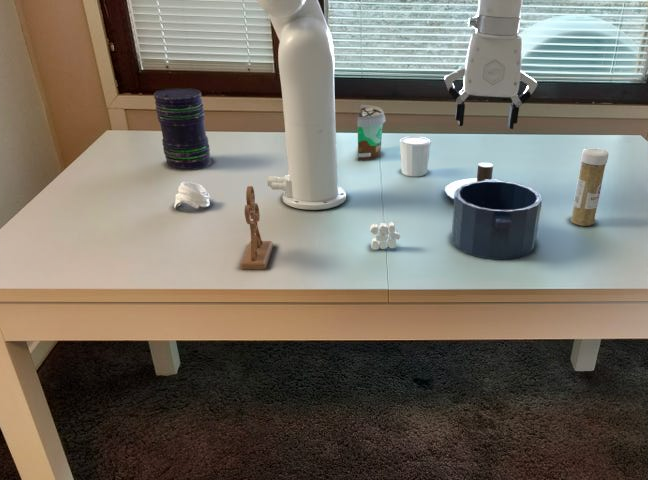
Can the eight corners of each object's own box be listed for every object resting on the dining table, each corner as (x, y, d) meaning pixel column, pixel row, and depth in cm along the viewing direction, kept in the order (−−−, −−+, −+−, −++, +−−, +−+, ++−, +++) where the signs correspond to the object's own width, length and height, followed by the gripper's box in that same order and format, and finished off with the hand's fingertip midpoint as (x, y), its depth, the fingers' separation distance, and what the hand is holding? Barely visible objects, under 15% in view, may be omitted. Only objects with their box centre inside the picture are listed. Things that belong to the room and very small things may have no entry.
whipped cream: (179, 202, 128) (172, 178, 126) (213, 198, 129) (207, 174, 126) (173, 215, 122) (166, 189, 119) (209, 210, 122) (203, 185, 120)
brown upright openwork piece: (250, 245, 111) (242, 177, 104) (273, 245, 111) (266, 177, 104) (240, 269, 103) (231, 197, 97) (265, 269, 103) (257, 197, 97)
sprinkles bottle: (593, 228, 120) (608, 156, 113) (568, 224, 121) (581, 153, 114) (595, 219, 124) (609, 148, 116) (570, 216, 125) (583, 145, 117)
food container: (384, 163, 149) (384, 118, 143) (357, 162, 149) (357, 117, 143) (386, 147, 159) (386, 104, 153) (361, 146, 159) (360, 104, 153)
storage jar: (192, 153, 151) (181, 85, 143) (220, 162, 147) (211, 92, 138) (156, 164, 145) (143, 93, 136) (185, 173, 140) (173, 101, 132)
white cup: (426, 178, 141) (428, 146, 137) (396, 175, 142) (396, 143, 138) (431, 168, 146) (433, 137, 142) (402, 166, 147) (402, 134, 143)
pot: (454, 265, 106) (458, 216, 101) (449, 218, 123) (452, 174, 118) (543, 268, 106) (551, 219, 101) (525, 220, 123) (532, 176, 118)
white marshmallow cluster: (370, 249, 110) (370, 225, 108) (370, 246, 112) (370, 222, 109) (399, 249, 111) (400, 225, 108) (399, 246, 112) (399, 221, 109)
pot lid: (446, 209, 126) (448, 176, 122) (443, 182, 139) (445, 151, 135) (525, 212, 126) (530, 179, 122) (515, 184, 139) (519, 153, 135)
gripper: (449, 26, 111) (441, 128, 121) (549, 32, 111) (533, 133, 121) (448, 21, 117) (439, 118, 127) (542, 26, 118) (527, 123, 127)
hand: (485, 125), depth 124 cm, fingers open, 9 cm apart
